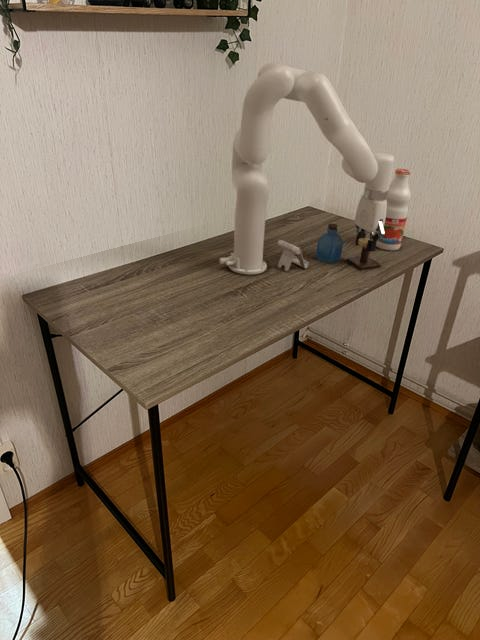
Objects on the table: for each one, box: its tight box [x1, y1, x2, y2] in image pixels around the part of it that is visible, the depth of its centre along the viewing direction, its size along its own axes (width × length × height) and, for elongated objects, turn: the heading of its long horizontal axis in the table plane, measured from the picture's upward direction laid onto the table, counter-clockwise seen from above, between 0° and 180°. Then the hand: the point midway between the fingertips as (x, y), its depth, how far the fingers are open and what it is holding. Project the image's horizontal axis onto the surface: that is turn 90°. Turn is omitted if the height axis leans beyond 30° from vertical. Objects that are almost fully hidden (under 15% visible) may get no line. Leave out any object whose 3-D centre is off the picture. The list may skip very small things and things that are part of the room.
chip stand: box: [346, 246, 381, 271], centre depth 167 cm, size 8×8×6 cm
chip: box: [357, 237, 370, 248], centre depth 164 cm, size 5×5×1 cm
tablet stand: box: [277, 239, 310, 272], centre depth 162 cm, size 9×8×8 cm
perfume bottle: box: [315, 223, 344, 264], centre depth 168 cm, size 6×6×12 cm
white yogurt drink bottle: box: [376, 168, 412, 251], centre depth 177 cm, size 9×9×28 cm
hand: (365, 247), depth 165 cm, fingers closed on chip, 5 cm apart
